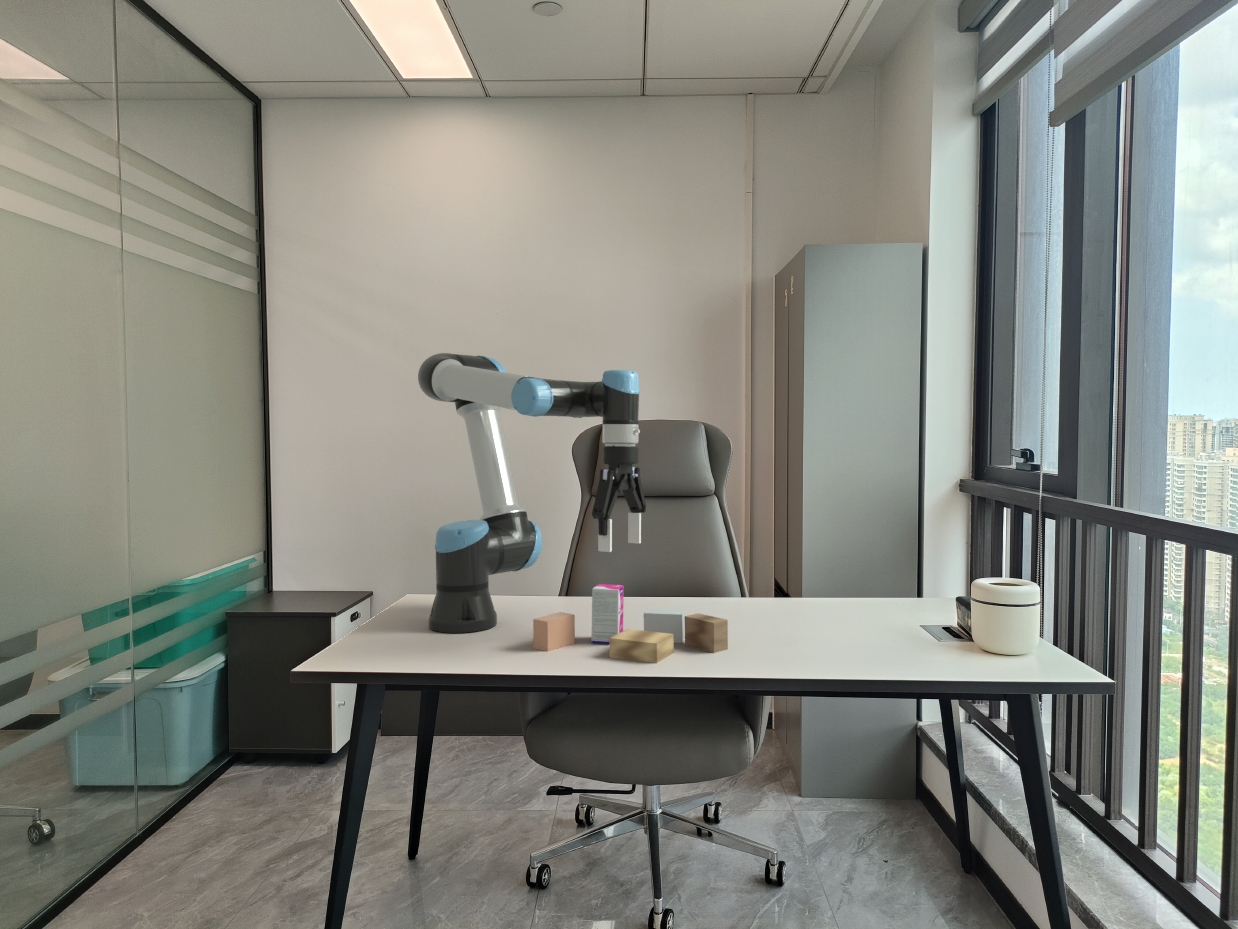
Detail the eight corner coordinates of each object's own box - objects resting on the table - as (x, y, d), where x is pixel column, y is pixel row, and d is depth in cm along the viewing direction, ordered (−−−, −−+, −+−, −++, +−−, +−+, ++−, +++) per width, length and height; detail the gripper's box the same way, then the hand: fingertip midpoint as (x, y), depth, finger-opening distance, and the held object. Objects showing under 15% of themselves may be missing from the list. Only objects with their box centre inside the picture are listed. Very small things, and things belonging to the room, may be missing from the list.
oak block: (609, 658, 150) (609, 638, 150) (627, 648, 157) (627, 629, 157) (657, 664, 146) (656, 643, 146) (673, 654, 153) (673, 633, 153)
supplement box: (618, 645, 159) (618, 589, 158) (590, 644, 160) (590, 588, 160) (624, 638, 164) (624, 584, 164) (597, 637, 166) (596, 583, 165)
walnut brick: (684, 645, 159) (684, 616, 158) (698, 642, 161) (698, 613, 161) (714, 653, 152) (713, 623, 152) (727, 649, 155) (727, 619, 155)
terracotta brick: (547, 651, 155) (547, 621, 154) (533, 648, 157) (533, 619, 157) (574, 643, 161) (574, 614, 161) (560, 640, 163) (560, 612, 163)
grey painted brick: (643, 641, 162) (643, 613, 162) (647, 637, 166) (647, 609, 165) (682, 643, 160) (682, 614, 160) (684, 638, 164) (684, 610, 164)
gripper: (608, 446, 149) (608, 556, 150) (661, 444, 171) (660, 540, 172) (574, 445, 152) (574, 553, 153) (630, 444, 174) (630, 538, 175)
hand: (620, 547), depth 162 cm, fingers open, 13 cm apart
